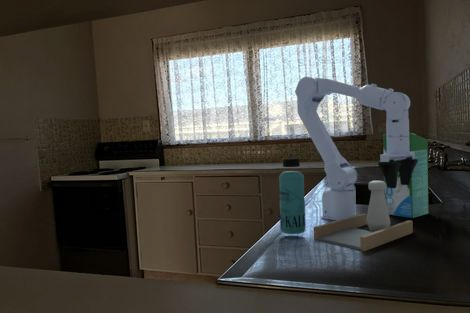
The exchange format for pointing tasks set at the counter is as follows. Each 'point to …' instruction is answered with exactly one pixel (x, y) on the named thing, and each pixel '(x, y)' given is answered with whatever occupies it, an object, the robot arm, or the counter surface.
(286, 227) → the beverage bottle
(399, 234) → the tan u-shaped piece
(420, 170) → the milk carton
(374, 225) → the salt shaker
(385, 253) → the counter surface
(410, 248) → the counter surface
